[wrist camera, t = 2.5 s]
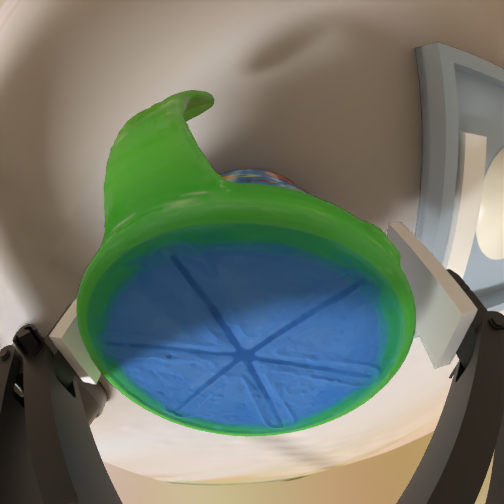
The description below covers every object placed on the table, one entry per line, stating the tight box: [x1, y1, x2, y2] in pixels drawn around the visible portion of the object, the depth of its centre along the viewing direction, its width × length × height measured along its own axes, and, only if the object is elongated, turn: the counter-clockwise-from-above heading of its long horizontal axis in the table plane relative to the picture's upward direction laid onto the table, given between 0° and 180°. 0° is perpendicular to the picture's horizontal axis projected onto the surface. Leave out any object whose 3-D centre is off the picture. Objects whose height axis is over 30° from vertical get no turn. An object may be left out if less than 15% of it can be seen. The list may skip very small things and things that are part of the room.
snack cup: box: [76, 90, 416, 436], centre depth 12 cm, size 16×10×10 cm
